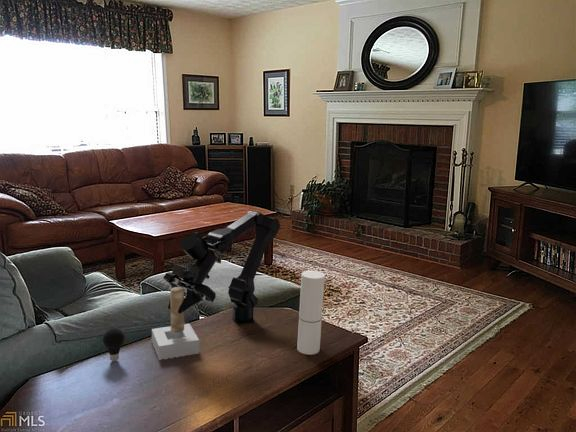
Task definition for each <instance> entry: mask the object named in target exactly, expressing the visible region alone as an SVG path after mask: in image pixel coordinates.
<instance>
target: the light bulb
mask: <svg viewBox="0 0 576 432" xmlns="http://www.w3.org/2000/svg"><path fill="white" fill-rule="evenodd" d="M102 337H103V338H102V343H103V345H104V346H105V347H106V348H107V351H108V353H109V360H110V361H112V362H117V360H119V358H120V356H119V355H120V354H119V353H120V350H121V347H122V346H123V344H124V342H125V334H124V332H123V331H122V330H121V329H119V328H117V327H115V328H110V329H108V330H107V331H106V332H105V333H104V335H103V336H102Z"/></svg>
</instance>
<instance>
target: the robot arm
mask: <svg viewBox="0 0 576 432" xmlns="http://www.w3.org/2000/svg"><path fill="white" fill-rule="evenodd" d="M253 227H254V235H255V236H254V240H253V242H252V244H251V245H252V246H251V248H250V250H249V253H248V256H247V258H246V260H245V263H244V265H243V268H242V270H241V272H240V274H239V275H238V276H236V277H232V279H231V281H230V284H229V286H228V290H227V295H228V297H229V299H230V302H231V303H233V305H234V306H233V307H232V317H231V318H232V319H233V320H234V321H235V323H236V324H237V325H241V324H242V325H243V324H249V323H255V322H256V319H255V318H254V310H255V309H254V308H256V306H257V305H258V303H259V298H258V297H257V296H256V295H255V294H254V293H255V289H256V287H255V281H254V280H255V277H256V275H257V272H258V271H259V266H260V264H261V262H262V259H263V257H264V254H265V252H266V250H267V247H268V244H269V243H271V241H272V240H273V239H274V238H276V237H277V234H278V233H279V230H280V228H281V224H280V221H279V219H278V218H275V217H272V216H268V215H265V214H263V213H262V212H260V211H255V210H250V211H247V212H246V214H244V215H243V216H242V217H240V218H238V219H237V220H235V221H234V222H233V223H231V224H229V225H227V226H226V227H224V228H217V229H215V230H213V231H210V232H209V233H208V234H207V235H205V236H203V237H202V235H201V234H200V233H199V232H197V231H196V232H195V231H193V232H192V234H190V235H187V236H185V238H183V239H182V241H181V243H180V248H181V249H182V251H184V253H185V254H187V256H189V257H190V258H191V260H194V262H193V263H189V264H187V266H186V265H185V266H184V265H180V264H177V263H174V265H173V267H172V269H171V271H168V272H166V273H165V274H164V276H163V277H162V279H163V280H164V281H165V282H167V283H168V284H169V286H170V287H171V289H172V288H174V287H182V288H184V289H186V291H184V301H183V302H182V304H181V306H180V307H179V309H178V313H179V314H180V313H182V312H183V311H184V312H185V311H186V310H188V309H190V308H191V307H193V306H194V305H196V304H198V303H200V302H203V301H204V299H205V300H206V301H208V302H211V303H213V302H214V301H215V299H216V298H217V295H216V292H215V291H214V290H213V289H212V288H211V287H210V286H208V285H206V284H203V283H204V281H205V280H206V279H207V280H209V278H210V276H211V275H210V272H211V270H212V268H214V265H215V264H216V263H217V264H221V263H222V258H221V254H219V253H226V252H227V251H228V250H229V249H230V248H232V247H233V245H234V241H235V240H236V239H237V238H239V237H240V236H242V235H244V234H245V233H246V232H247V231H249V230H251V229H252V228H253ZM215 252H219V253H215ZM203 298H204V299H203ZM167 309H169V310H171V297H170V298H169V302H168V306H167Z"/></svg>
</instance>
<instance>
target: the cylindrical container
mask: <svg viewBox="0 0 576 432" xmlns="http://www.w3.org/2000/svg"><path fill="white" fill-rule="evenodd" d="M325 277H326V275H325V273H324V272H322V271H317V270H305V271H302V272H301V276H300V279H301V280H300V291H299V293H300V294H299V295H300V296H299V308H298V309H299V310H298V311H299V312H298V313H299V315H298V325H297V326H298V328H297V329H298V330H297V345H296V350H297V351H298V352H299V353H300V354H303V355H310V356H312V355H316V354H319V352H320V348H321V337H322V336H321V334H322V333H321V332H322V322H323V306H324V305H323V304H324V295H325V294H324V291H325V281H326V279H325Z"/></svg>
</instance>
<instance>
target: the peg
mask: <svg viewBox="0 0 576 432" xmlns="http://www.w3.org/2000/svg"><path fill="white" fill-rule="evenodd" d="M184 292H185V288H182V287H174V288H172V287H171V288H170V295H169V297H170V298H171V309H170V326H171V331H172V332H175V333H179V332H182V331H184V324H185V311H183V312H182V313H180V314H179V313H178V309H179V307H180V306H181V304H182V302H183V301H184V299H185V295H184Z"/></svg>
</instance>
